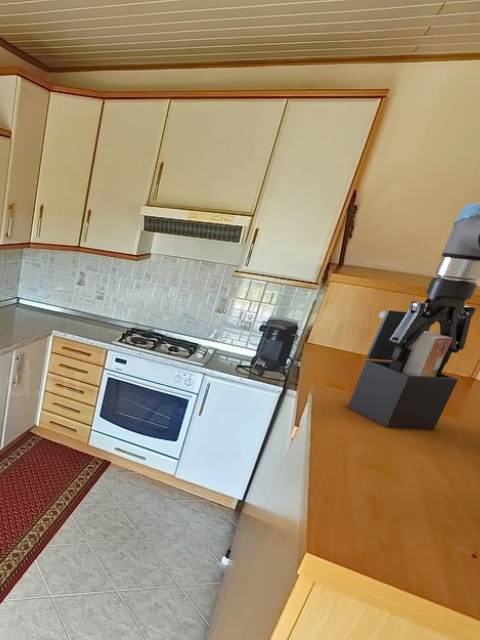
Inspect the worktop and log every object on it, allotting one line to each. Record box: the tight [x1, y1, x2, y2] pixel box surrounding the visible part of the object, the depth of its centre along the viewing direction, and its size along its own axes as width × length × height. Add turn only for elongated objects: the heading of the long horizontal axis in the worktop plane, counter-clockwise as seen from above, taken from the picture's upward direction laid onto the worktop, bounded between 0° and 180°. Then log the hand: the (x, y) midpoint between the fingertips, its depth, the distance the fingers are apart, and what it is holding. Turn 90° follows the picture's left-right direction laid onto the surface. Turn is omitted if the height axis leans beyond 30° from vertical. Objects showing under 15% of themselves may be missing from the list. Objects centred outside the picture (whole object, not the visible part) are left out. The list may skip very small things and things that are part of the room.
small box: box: [402, 331, 453, 377], centre depth 112 cm, size 8×6×10 cm
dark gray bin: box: [347, 359, 459, 431], centre depth 117 cm, size 11×12×13 cm
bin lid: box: [366, 309, 432, 361], centre depth 120 cm, size 12×12×6 cm
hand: (412, 375), depth 114 cm, fingers closed on small box, 9 cm apart
